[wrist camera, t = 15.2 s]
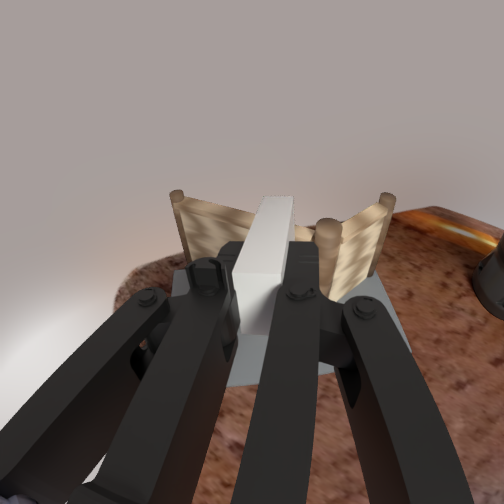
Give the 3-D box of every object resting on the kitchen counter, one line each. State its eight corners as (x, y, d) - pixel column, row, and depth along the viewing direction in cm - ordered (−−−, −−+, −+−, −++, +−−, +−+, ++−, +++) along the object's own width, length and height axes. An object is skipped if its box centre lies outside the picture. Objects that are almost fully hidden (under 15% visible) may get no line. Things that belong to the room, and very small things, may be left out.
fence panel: (305, 302, 44) (316, 223, 34) (301, 312, 43) (310, 233, 32) (192, 261, 51) (175, 188, 41) (186, 268, 50) (166, 195, 40)
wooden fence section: (364, 264, 49) (385, 183, 38) (377, 273, 48) (402, 193, 36) (300, 311, 43) (310, 224, 32) (313, 324, 41) (330, 238, 30)
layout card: (364, 251, 52) (364, 249, 52) (411, 353, 36) (412, 351, 36) (174, 271, 51) (173, 270, 51) (165, 389, 35) (164, 388, 35)
